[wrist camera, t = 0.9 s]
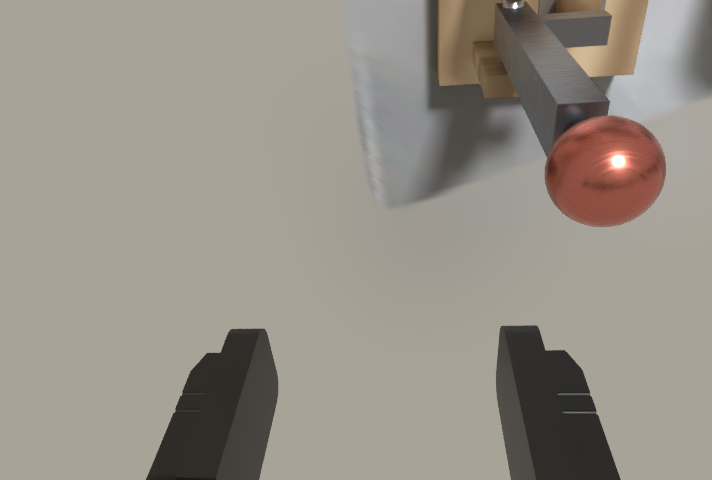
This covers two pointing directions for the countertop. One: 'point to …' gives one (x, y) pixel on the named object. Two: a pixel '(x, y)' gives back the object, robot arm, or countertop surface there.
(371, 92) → the countertop surface
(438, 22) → the cracker base
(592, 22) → the lever
